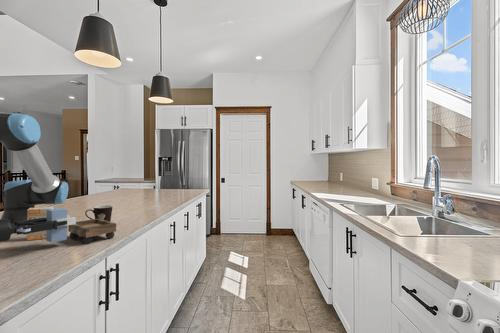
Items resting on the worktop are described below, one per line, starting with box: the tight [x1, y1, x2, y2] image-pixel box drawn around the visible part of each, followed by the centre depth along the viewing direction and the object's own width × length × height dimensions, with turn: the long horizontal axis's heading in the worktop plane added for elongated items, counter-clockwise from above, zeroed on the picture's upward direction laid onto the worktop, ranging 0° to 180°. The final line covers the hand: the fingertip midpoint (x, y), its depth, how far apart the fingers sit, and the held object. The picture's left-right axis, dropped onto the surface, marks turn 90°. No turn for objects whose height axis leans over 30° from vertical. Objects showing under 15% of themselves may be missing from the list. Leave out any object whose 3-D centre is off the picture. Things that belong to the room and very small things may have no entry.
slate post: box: [45, 207, 68, 244], centre depth 99 cm, size 5×5×12 cm
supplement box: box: [26, 206, 55, 241], centre depth 109 cm, size 8×5×13 cm, turn 117°
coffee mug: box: [84, 204, 113, 222], centre depth 132 cm, size 12×9×10 cm
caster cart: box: [67, 218, 117, 245], centre depth 110 cm, size 16×12×6 cm
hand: (72, 219), depth 104 cm, fingers closed on slate post, 5 cm apart
